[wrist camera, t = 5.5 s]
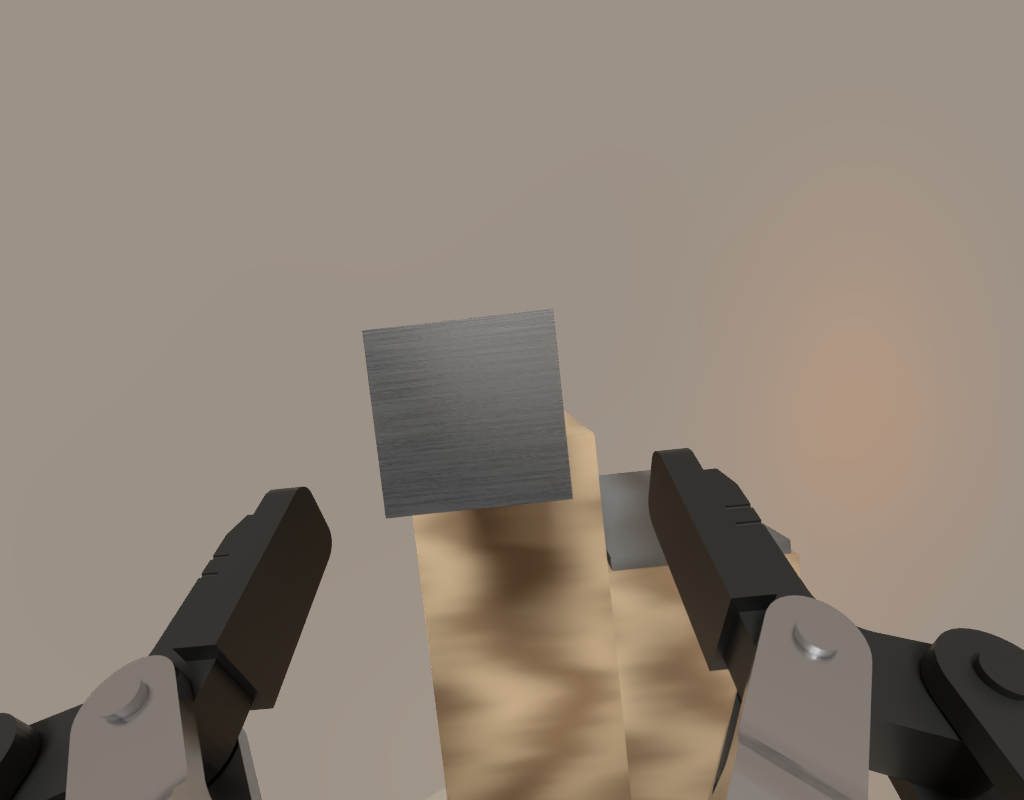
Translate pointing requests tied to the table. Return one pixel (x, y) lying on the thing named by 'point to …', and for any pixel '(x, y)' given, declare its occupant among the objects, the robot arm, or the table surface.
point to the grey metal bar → (468, 413)
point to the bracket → (568, 648)
